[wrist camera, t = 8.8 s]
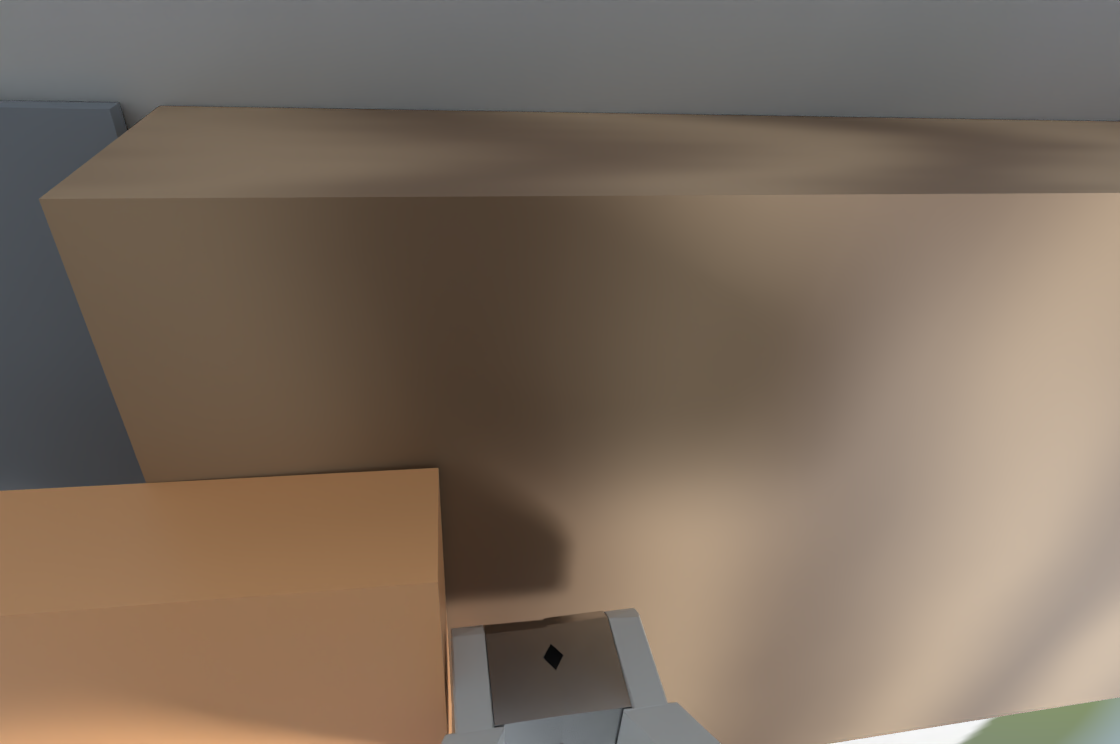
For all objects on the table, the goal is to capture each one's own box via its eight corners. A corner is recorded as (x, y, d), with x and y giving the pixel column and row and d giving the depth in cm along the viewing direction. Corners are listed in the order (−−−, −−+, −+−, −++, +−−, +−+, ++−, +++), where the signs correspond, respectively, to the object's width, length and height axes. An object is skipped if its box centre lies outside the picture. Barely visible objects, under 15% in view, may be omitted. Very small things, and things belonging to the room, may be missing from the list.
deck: (1322, 124, 14) (1596, 190, 11) (1026, 577, 22) (1134, 694, 18) (159, 106, 10) (38, 199, 7) (303, 663, 18) (278, 831, 15)
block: (438, 468, 10) (437, 582, 8) (451, 706, 13) (453, 821, 11) (-315, 507, 8) (-501, 654, 7) (-84, 761, 12) (-171, 901, 10)
